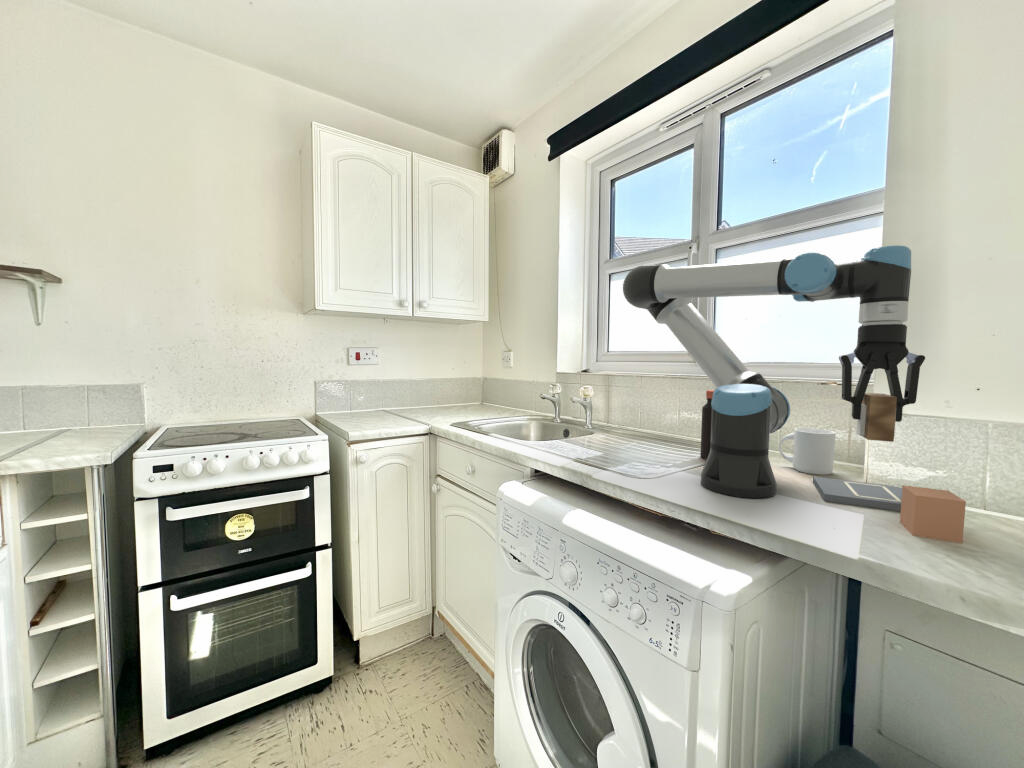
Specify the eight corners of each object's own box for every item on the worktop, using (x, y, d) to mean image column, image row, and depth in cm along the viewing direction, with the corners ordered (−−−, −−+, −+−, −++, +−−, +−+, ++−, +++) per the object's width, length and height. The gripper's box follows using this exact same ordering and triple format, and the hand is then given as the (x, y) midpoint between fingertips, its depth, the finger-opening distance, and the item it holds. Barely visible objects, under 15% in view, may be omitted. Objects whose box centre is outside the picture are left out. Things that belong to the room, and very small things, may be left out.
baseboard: (824, 500, 85) (824, 493, 85) (812, 482, 97) (813, 476, 97) (943, 517, 77) (943, 509, 77) (914, 495, 89) (914, 488, 89)
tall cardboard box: (867, 439, 84) (870, 396, 83) (857, 433, 91) (859, 392, 90) (893, 441, 82) (896, 397, 81) (880, 434, 89) (883, 393, 88)
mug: (782, 462, 116) (784, 425, 115) (835, 470, 108) (837, 430, 107) (774, 468, 110) (776, 428, 109) (829, 477, 102) (832, 435, 101)
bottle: (727, 462, 116) (730, 392, 114) (700, 459, 118) (703, 391, 117) (724, 456, 122) (727, 390, 121) (699, 454, 125) (702, 389, 123)
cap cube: (912, 535, 69) (915, 495, 69) (899, 522, 74) (902, 485, 74) (962, 543, 66) (965, 501, 66) (945, 529, 71) (948, 490, 71)
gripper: (834, 324, 85) (828, 435, 87) (947, 321, 77) (938, 443, 79) (827, 326, 92) (821, 429, 93) (930, 324, 84) (922, 436, 85)
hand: (874, 435), depth 86 cm, fingers closed on tall cardboard box, 4 cm apart
